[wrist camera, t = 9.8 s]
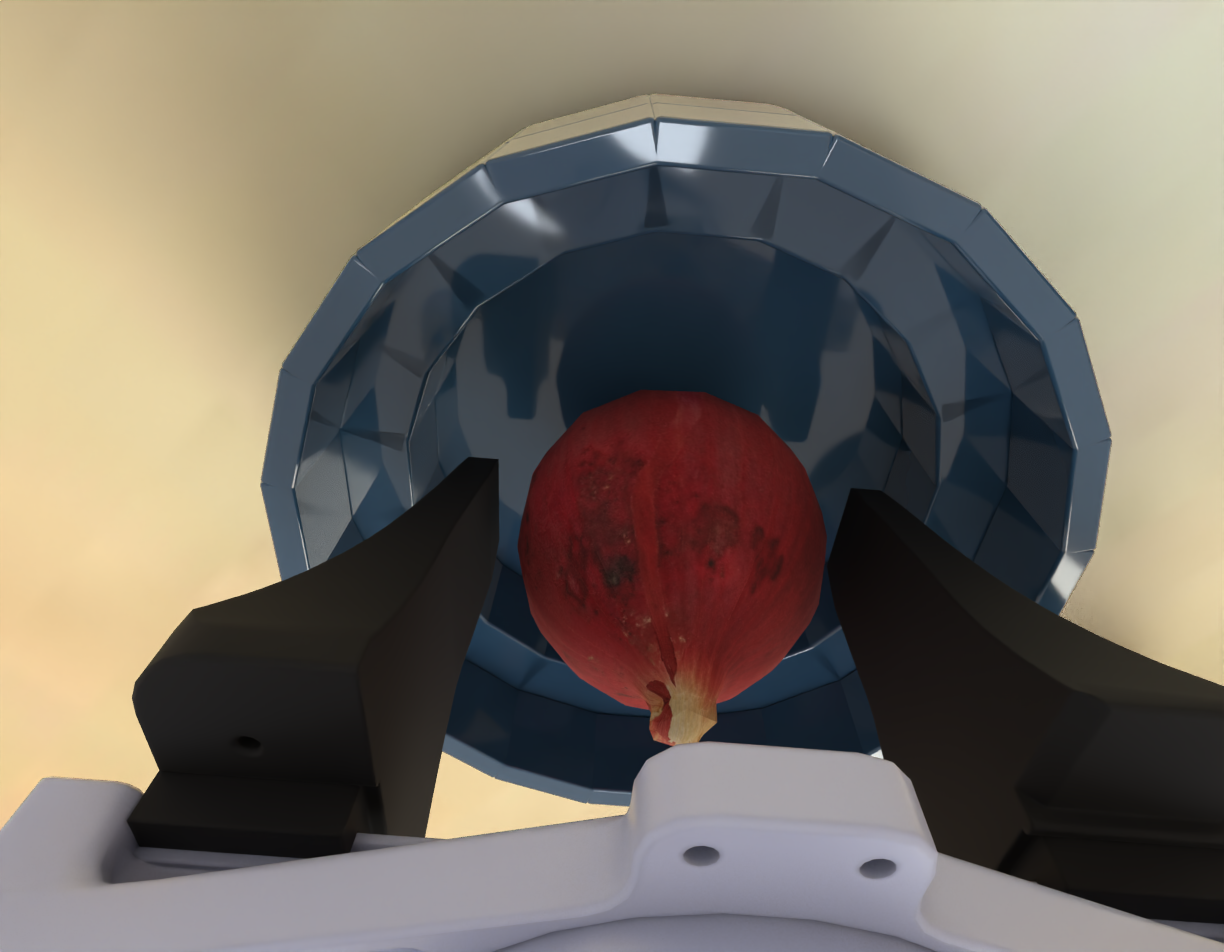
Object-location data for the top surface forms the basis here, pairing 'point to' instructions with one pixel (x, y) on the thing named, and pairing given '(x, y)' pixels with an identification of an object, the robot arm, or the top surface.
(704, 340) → the bowl
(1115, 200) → the top surface
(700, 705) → the pomegranate
